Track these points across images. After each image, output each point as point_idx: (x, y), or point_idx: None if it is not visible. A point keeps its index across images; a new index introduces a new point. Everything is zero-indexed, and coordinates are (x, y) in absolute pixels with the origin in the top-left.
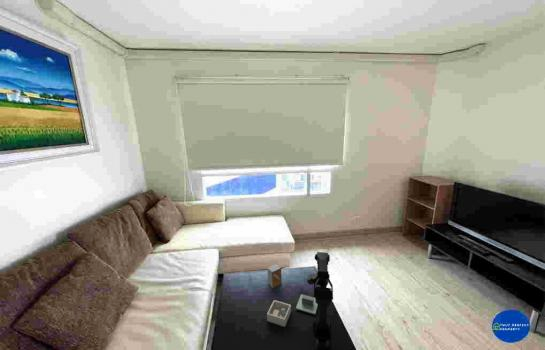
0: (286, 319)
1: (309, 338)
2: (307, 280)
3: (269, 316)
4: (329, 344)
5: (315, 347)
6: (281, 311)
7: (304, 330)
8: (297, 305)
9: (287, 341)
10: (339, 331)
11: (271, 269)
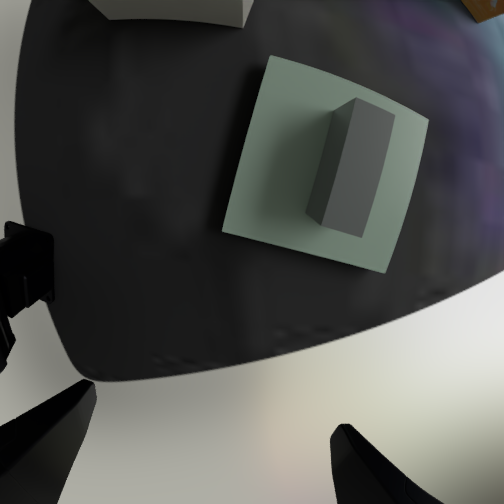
0: (127, 5)
1: (46, 185)
2: None
3: None
4: (42, 299)
5: (9, 224)
6: None
7: (86, 145)
8: (301, 69)
9: (31, 66)
10: (132, 363)
11: None
